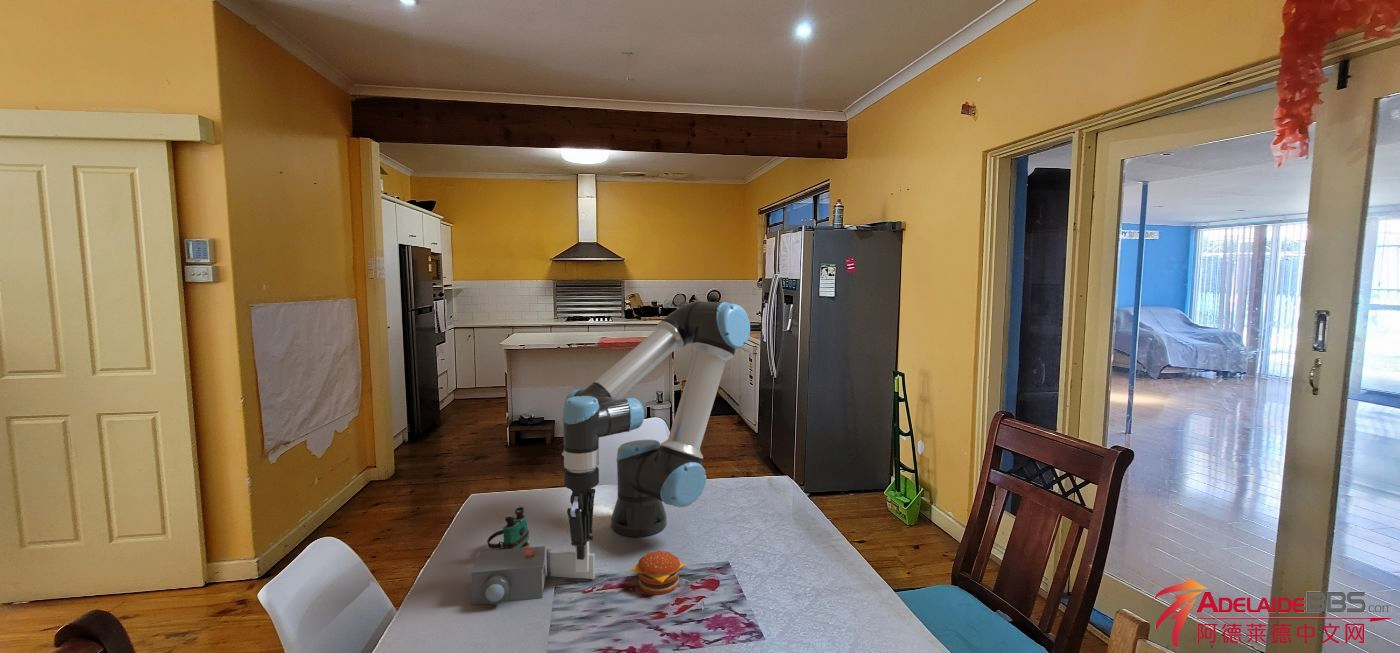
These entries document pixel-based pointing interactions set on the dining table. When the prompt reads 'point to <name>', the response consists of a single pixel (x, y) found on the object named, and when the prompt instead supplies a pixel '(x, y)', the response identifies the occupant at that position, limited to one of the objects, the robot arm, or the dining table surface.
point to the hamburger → (658, 572)
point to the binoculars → (513, 532)
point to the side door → (567, 565)
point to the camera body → (508, 575)
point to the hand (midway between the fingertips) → (582, 570)
